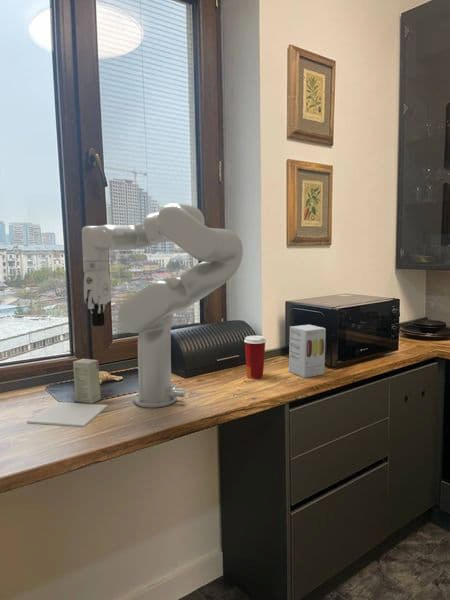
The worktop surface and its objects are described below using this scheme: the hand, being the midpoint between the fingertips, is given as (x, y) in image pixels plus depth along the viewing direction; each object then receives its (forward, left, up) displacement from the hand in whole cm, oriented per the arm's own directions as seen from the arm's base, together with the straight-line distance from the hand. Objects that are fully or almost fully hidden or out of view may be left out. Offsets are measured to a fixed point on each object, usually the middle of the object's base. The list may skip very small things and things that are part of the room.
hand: (98, 325), depth 136 cm
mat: (0, +20, -21) cm, 29 cm away
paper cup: (-47, -22, -21) cm, 56 cm away
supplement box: (-65, -29, -21) cm, 74 cm away
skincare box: (0, +9, -21) cm, 23 cm away
